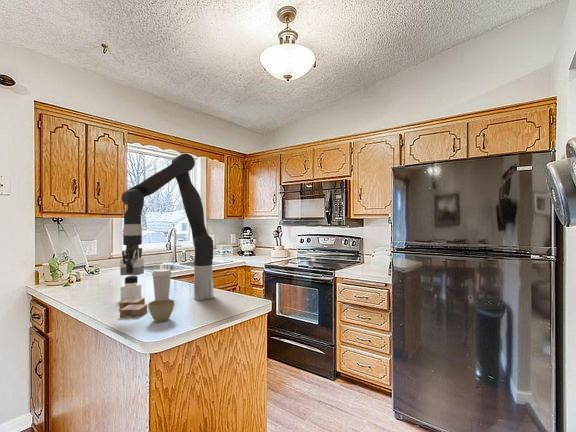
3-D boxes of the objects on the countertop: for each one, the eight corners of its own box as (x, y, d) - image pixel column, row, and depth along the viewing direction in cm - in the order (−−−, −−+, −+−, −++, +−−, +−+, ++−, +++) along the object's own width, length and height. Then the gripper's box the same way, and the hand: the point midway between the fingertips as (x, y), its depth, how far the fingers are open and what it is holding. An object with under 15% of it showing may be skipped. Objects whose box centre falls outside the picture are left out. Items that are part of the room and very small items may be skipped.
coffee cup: (147, 300, 157) (147, 270, 158) (161, 296, 166) (161, 268, 166) (162, 302, 154) (162, 272, 154) (175, 297, 163) (175, 269, 163)
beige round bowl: (153, 316, 131) (153, 299, 131) (177, 315, 132) (177, 298, 132) (144, 324, 121) (144, 306, 121) (170, 323, 122) (170, 305, 122)
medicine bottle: (141, 297, 164) (141, 274, 164) (133, 301, 156) (133, 277, 157) (128, 297, 164) (128, 274, 164) (120, 301, 157) (120, 277, 157)
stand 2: (147, 311, 139) (147, 304, 139) (139, 316, 131) (139, 309, 131) (128, 311, 139) (128, 304, 139) (120, 317, 131) (119, 310, 131)
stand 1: (144, 304, 151) (144, 297, 151) (137, 308, 143) (137, 302, 143) (127, 304, 150) (127, 298, 150) (119, 309, 142) (119, 302, 142)
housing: (143, 273, 142) (143, 256, 142) (138, 275, 137) (138, 257, 137) (126, 273, 142) (126, 256, 142) (120, 275, 137) (120, 257, 137)
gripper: (133, 235, 132) (133, 275, 132) (148, 233, 146) (148, 269, 146) (115, 235, 132) (115, 275, 132) (132, 233, 146) (132, 269, 146)
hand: (132, 272), depth 139 cm, fingers closed on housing, 5 cm apart
